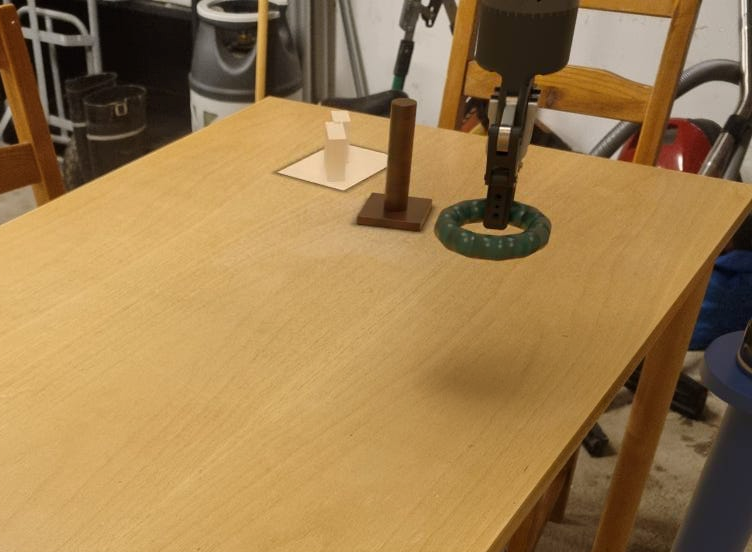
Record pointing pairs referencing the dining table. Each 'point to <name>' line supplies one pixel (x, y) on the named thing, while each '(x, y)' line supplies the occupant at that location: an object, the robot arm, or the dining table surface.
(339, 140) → the napkin holder
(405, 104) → the post
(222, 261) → the dining table surface
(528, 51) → the robot arm
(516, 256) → the ring
